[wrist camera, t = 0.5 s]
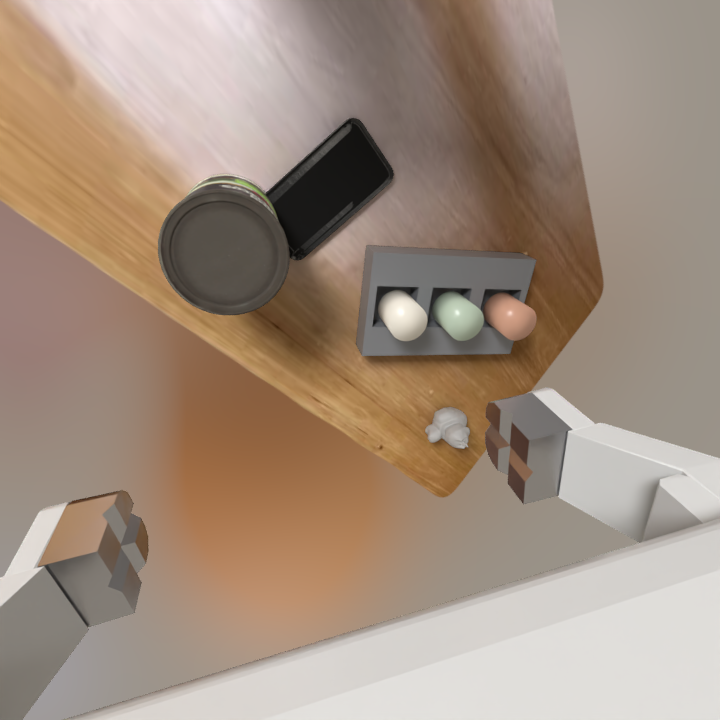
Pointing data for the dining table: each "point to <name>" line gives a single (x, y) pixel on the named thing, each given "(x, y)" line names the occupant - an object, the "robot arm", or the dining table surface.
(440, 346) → the grey rectangular tray
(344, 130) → the phone
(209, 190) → the coffee can
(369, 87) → the dining table surface
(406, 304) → the ivory button
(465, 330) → the sage button
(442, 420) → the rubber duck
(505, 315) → the terracotta button
